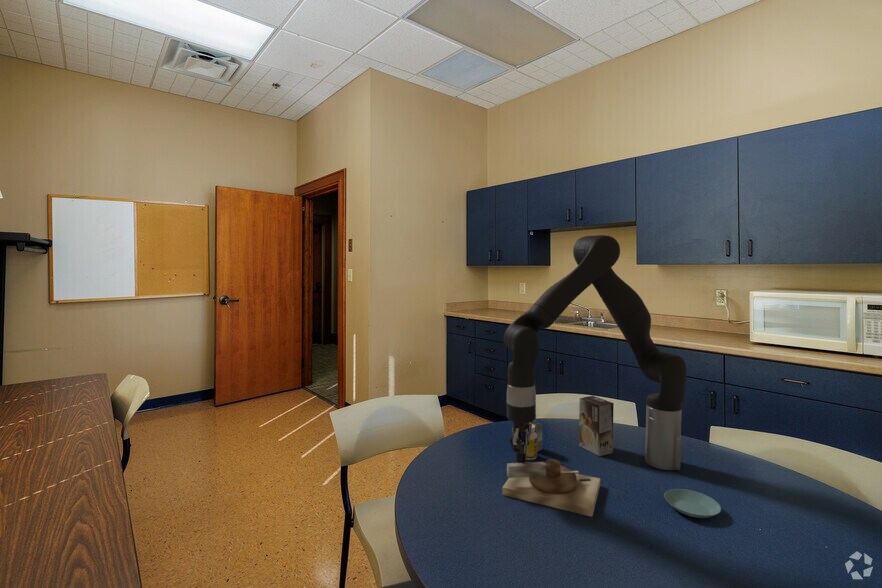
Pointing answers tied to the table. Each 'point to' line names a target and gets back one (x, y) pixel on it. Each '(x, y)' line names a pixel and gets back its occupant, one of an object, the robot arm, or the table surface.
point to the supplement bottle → (532, 445)
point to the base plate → (557, 494)
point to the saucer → (692, 503)
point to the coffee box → (596, 425)
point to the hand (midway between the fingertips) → (521, 464)
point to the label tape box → (538, 434)
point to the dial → (545, 475)
